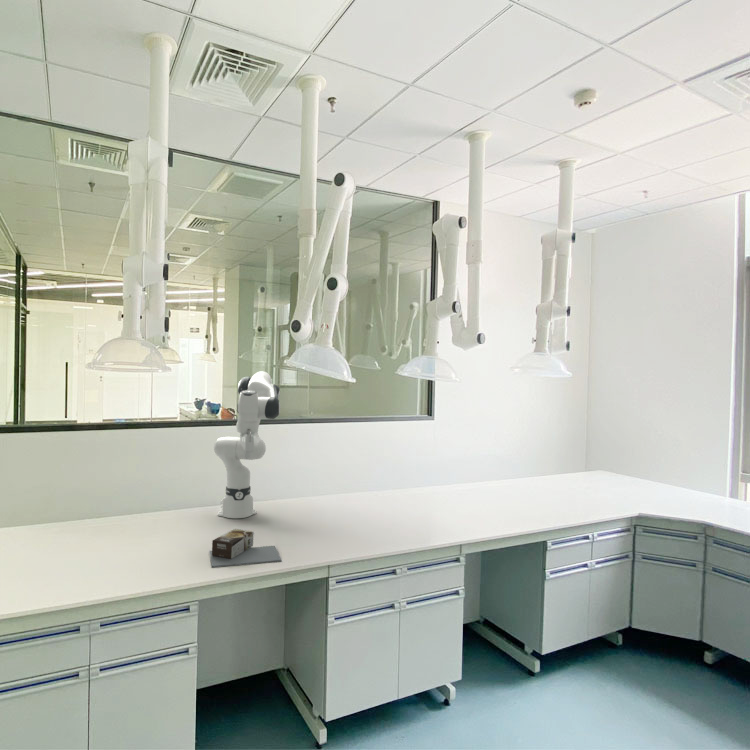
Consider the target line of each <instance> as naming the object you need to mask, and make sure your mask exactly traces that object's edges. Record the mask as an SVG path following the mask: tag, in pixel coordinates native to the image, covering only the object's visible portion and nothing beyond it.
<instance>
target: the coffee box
mask: <svg viewBox="0 0 750 750" xmlns="http://www.w3.org/2000/svg"><path fill="white" fill-rule="evenodd" d="M254 534H255V533H254V531H252V530H246V529H239V528H233V529H232V530H229V531H227V532H225V533H224V534H222V535H220V536H218V537H216V538H214V539H213V540H212V541H211V542H212V543H211V546H212V547H211V551H212V556H217V557H222V558H227V559H232V558H234V557H235V556H237V555H239V554H240V553H242V552H244V551H245V550H247V549H249V548H251V547H254V536H255V535H254Z"/></svg>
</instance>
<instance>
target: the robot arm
mask: <svg viewBox="0 0 750 750" xmlns="http://www.w3.org/2000/svg"><path fill="white" fill-rule="evenodd" d="M237 393H238V395H239V398H238V401H237V406H236V407H237V409H236V411H237V412H236V413H237V414H238V418H237V422H236V424H235V425H236V426H235V427H236V430H237V432H238V433H239V436H231V435H230V436H228V435H227V436H220V437H219V438H217V439H216V441H215V442H214V445H213V450H214V453H215V455H216V456H217V457H218V458H219V459H220V460H221V461H222V462H223V464H224V467H225V468H226V487H225V496H224V497H223V498H222V499H221V500H220V504H221V506H220V509H219V510H218V512H217V516H219V517H223V518H228V519H244V518H249V517H251V516H253V515H256V514H257V511H256V509H254V497H253V496H252V495H251V488H252V487H251V484H250V483H251V471H250V470H249V468H248V467H247V466H245V465H243V464H242V463H243V462H241V460H248V461H253V460H254V461H255V460H259V459H262V458H263V456H264V455H265V453H266V450H267V448H266V444H265V442H264V441H263V439H262V438H261V437H260V436H259V427H260V423H261V420H262V419H268V420H275V419H276V418H277V417H279V415H280V414H281V403H280V400H279V398H280V394H281V391H280V387H279V385H276V384H273V383H272V377H271V375H270V374H269V373H268V372H266V371H265V370H261V371H257V372H256V373H254V374H253V375H252V376H251V375H249V376H244V377H241V379H240V381H238V384H237Z"/></svg>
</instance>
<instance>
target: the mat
mask: <svg viewBox="0 0 750 750" xmlns="http://www.w3.org/2000/svg"><path fill="white" fill-rule="evenodd" d="M209 556H210V563H211V564H210V566H211V568H220V567H222V568H223V567H234V566H235V567H236V566H244V565H245V566H246V565H255V564H266V563H267V562H268V563H277V561H279V562H278V563H280V562H282V558H281V555H280V554H279V551H278V549H277V547H276V545H265V546H264V545H263V546H252V547H250V548H249V549H247V550H245V551H244V552H242V553H240V554H239V555H237V556H235V557H234V558H232V559H227V558H222V557H217V556H212V550H209Z"/></svg>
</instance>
